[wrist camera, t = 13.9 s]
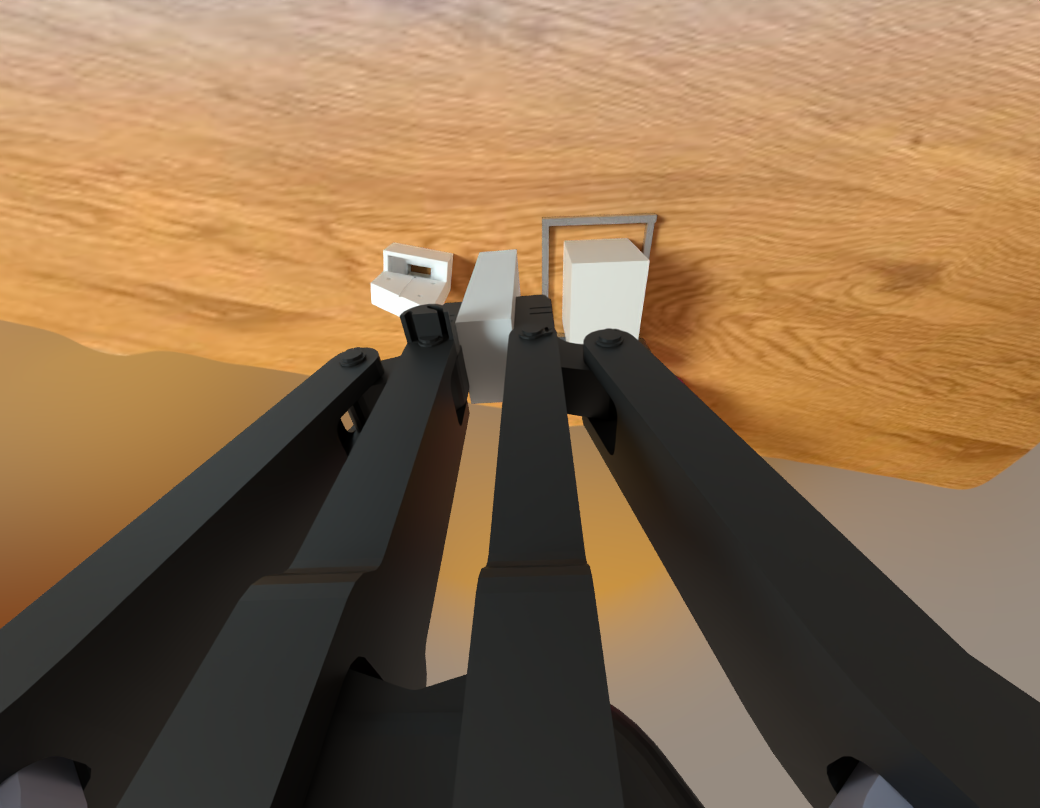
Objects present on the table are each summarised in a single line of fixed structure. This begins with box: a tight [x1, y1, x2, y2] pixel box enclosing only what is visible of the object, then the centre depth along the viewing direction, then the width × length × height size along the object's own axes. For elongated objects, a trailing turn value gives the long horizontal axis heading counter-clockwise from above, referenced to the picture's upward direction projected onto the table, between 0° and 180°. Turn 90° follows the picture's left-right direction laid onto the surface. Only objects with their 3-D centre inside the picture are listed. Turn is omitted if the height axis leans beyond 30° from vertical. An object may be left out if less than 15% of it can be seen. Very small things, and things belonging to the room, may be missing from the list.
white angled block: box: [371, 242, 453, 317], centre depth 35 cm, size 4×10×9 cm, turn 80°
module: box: [562, 238, 650, 344], centre depth 35 cm, size 8×6×8 cm
